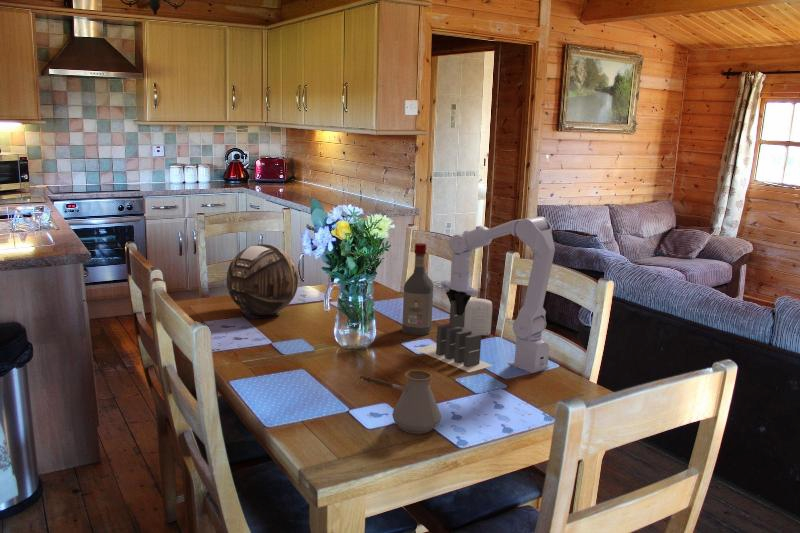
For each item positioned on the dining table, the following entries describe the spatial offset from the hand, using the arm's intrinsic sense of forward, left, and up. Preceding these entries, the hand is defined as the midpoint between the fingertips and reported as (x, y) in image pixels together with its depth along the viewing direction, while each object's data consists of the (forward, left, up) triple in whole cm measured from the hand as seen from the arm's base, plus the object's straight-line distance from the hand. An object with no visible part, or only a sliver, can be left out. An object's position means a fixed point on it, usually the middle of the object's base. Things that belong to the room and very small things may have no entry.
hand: (457, 314), depth 221 cm
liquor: (+18, +1, -11) cm, 21 cm away
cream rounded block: (+5, -14, -11) cm, 18 cm away
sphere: (+64, +34, -11) cm, 73 cm away
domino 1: (-4, +9, -10) cm, 14 cm away
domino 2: (0, 0, -4) cm, 5 cm away
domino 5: (-16, +9, -10) cm, 21 cm away
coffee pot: (-37, +54, -11) cm, 66 cm away
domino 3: (-8, +9, -10) cm, 16 cm away
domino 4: (-12, +9, -10) cm, 18 cm away
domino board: (-8, +9, -10) cm, 16 cm away
